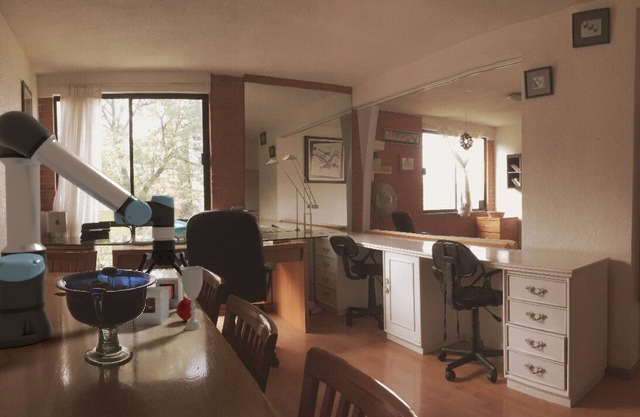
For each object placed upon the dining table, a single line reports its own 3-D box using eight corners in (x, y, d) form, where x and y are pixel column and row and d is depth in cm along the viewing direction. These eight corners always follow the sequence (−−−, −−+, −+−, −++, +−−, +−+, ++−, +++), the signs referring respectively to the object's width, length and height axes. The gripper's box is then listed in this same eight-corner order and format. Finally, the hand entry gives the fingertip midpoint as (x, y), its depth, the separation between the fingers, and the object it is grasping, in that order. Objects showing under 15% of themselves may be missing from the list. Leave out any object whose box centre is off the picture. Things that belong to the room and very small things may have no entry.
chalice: (197, 331, 127) (196, 270, 126) (176, 330, 128) (175, 269, 128) (209, 324, 134) (208, 266, 133) (188, 323, 135) (187, 266, 135)
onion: (198, 318, 141) (197, 294, 141) (191, 323, 135) (190, 298, 135) (181, 318, 142) (180, 294, 142) (173, 323, 136) (172, 297, 136)
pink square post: (161, 306, 142) (160, 293, 142) (148, 306, 142) (148, 294, 142) (175, 294, 160) (175, 283, 160) (164, 294, 160) (164, 283, 160)
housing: (160, 324, 135) (160, 292, 135) (134, 325, 135) (133, 293, 134) (168, 316, 144) (168, 286, 144) (144, 317, 144) (143, 287, 143)
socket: (178, 307, 157) (178, 279, 156) (155, 308, 156) (155, 280, 156) (181, 304, 161) (181, 277, 161) (159, 305, 160) (159, 278, 160)
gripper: (201, 237, 158) (202, 295, 158) (131, 238, 156) (132, 297, 156) (197, 239, 150) (198, 300, 151) (123, 240, 149) (124, 302, 149)
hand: (164, 299), depth 153 cm, fingers open, 13 cm apart
